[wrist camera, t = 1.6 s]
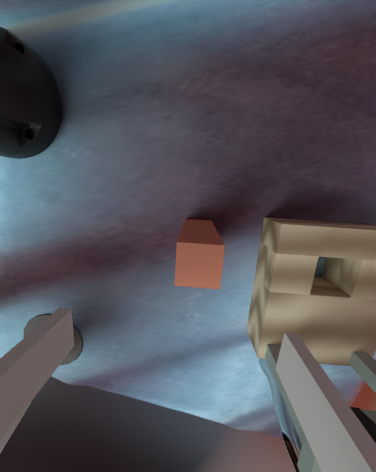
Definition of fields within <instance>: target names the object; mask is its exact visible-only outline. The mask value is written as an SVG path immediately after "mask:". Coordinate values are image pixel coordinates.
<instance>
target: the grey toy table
mask: <svg viewBox="0 0 376 472" xmlns="http://www.w3.org/2000/svg"><path fill="white" fill-rule="evenodd" d="M280 349H281V346H280V345H269V344H267V348H266V353H265V357H266V359H267V362H268V364H269V367H270V369H271V371H272V374H273V376H274V379H275V381H276V383H277V386H278V388H279V390H280V393H281V395H282V398H283V400H284V402H285V405H286V407H287V409H288V412H289V414H290V417H291V419H292V421H293V424H294V426H295V428H296V431H297V433H298V436H299V438H300V440H301V443H302V445H303V446H302V449H301V453H300V456H299V460H298V463H297V466H298V469H299V471H300V472H322V471H321V469H320V467H319V465H318V463H317V460H316V458H315V456H314V454H313V451H312V449H311V447H310V445H309V442H308V440H307V438H306V436H305V434H304V431H303V429H302V427H301V425H300V422H299V420H298V418H297V416H296V413H295V411H294V409H293V407H292V405H291V402H290V400H289V398H288V396H287V393H286V391H285V389H284V387H283V385H282V382H281V380H280V378H279V376H278V373H277V371H276V369H275V368H276V365H277V361H278V357H279V353H280ZM349 364H350V365H351V366H352V367H353V368H354V369H355V371H356V372H357V373H358V374H359V375H360V376H361V377H362V378H363V380H364V381H365V382H366V383H367V384H368V385H369V386H370V387H371V389H373V391H374V392H375V393H376V361H375V360H374V359H373V358H372V357H371V356H370V355H369V354H368V353H364V352H352V354H351V357H350V361H349ZM362 411H363V412H364V413H365V414H366V415H367V416H368V417H369V418H370V419H371V420H372V421H373V422H374V423H375V424H376V411H371V410H362Z"/></svg>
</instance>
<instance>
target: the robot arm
mask: <svg viewBox="0 0 376 472" xmlns="http://www.w3.org/2000/svg"><path fill="white" fill-rule="evenodd" d="M60 115H61V104H60V97H59V92H58V89H57V85H56V83H55V80H54V78H53V76H52V74H51V72H50V70H49V69H48V67H47V66H46V64H45V63H44V62H43V60H42V59H41V58H40V57H39V56H38V55H37V54H36V53H35V52H34V51H33V50H32V49H31V48H29V47H28V46H27V45H26V44H25V43H24V42H23V41H21V40H20V39H19V38H18V37H16V36H15V35H14V34H12V33H11V32H9V31H7V30H6V29H4V28H2V27H0V156H4V157H9V158H17V159H21V158H28V157H32V156H34V155H37V154H38V153H40V152H42V151H43V150H44V149H45V148H46V147H47V146H48V145H49V144H50V143H51V142H52V140H53V139H54V137H55V135H56V132H57V130H58V127H59V123H60ZM73 347H74V335H73V319H72V309H65V308H59V309H58V310H57V311H56V312H54V313H53V314H52V315H51V316H50V317H49V318H47V319H46V320H45V321H44V322H43V323H42V324H40V325H39V326H38V327H37V328H36V329H35V330H33V331H32V332H31V333H30V334H29V335H28V336H26V337H25V338H24V339H23V340H22V341H20V342H19V343H18V344H17V345H16V346H15V347H13V348H12V349H11V350H10V351H9V352H8V353H6V354H5V355H4V356H3V357H2V358H1V359H0V440H1V438H2V437H3V436H4V435H5V433H6V432H7V431H8V429H9V428H10V427H11V426H12V424H13V423H14V422H15V421H16V419H17V418H18V417H19V416H20V414H21V413H22V412H23V410H24V409H25V408H26V407H27V405H28V404H29V403H30V402H31V400H32V399H33V398H34V396H35V395H36V394H37V393H38V391H39V390H40V389H41V388H42V386H43V385H44V384H45V383H46V381H47V380H48V379H49V377H50V376H51V375H52V374H53V372H54V371H55V370H56V369H57V367H58V366H59V365H60V364H61V362H62V361H63V360H64V358H65V357H66V356H67V355H68V353H69V352H70V351H71V350H72V348H73ZM275 369H276V371H277V373H278V376H279V378H280V380H281V382H282V385H283V387H284V389H285V391H286V393H287V396H288V398H289V400H290V402H291V405H292V407H293V409H294V411H295V413H296V416H297V418H298V420H299V422H300V425H301V427H302V429H303V431H304V434H305V436H306V438H307V440H308V442H309V445H310V447H311V449H312V451H313V454H314V456H315V458H316V460H317V463H318V465H319V467H320V469H321V471H322V472H376V424H375V423H374V422H373V421H372V420H371V419H370V418H369V417H368V416H367V415H366V414H365V413H364V412H363V411H362V410H360V409H359V408H354V407H349V405H348V404H347V403H346V401H345V400H344V398H343V397H342V396H341V394H340V393H339V391H338V390H337V389H336V387H335V386H334V384H333V383H332V382H331V380H330V379H329V377H328V376H327V375H326V373H325V372H324V370H323V369H322V368H321V366H320V365H319V363H318V362H317V361H316V359H315V358H314V356H313V355H312V354H311V352H310V351H309V349H308V348H307V347H306V345H305V344H304V342H303V341H302V340H301V338H300V337H299V335H298V334H295V333H286V332H285V333H284V337H283V341H282V345H281V349H280V353H279V357H278V361H277V365H276V368H275Z"/></svg>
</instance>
